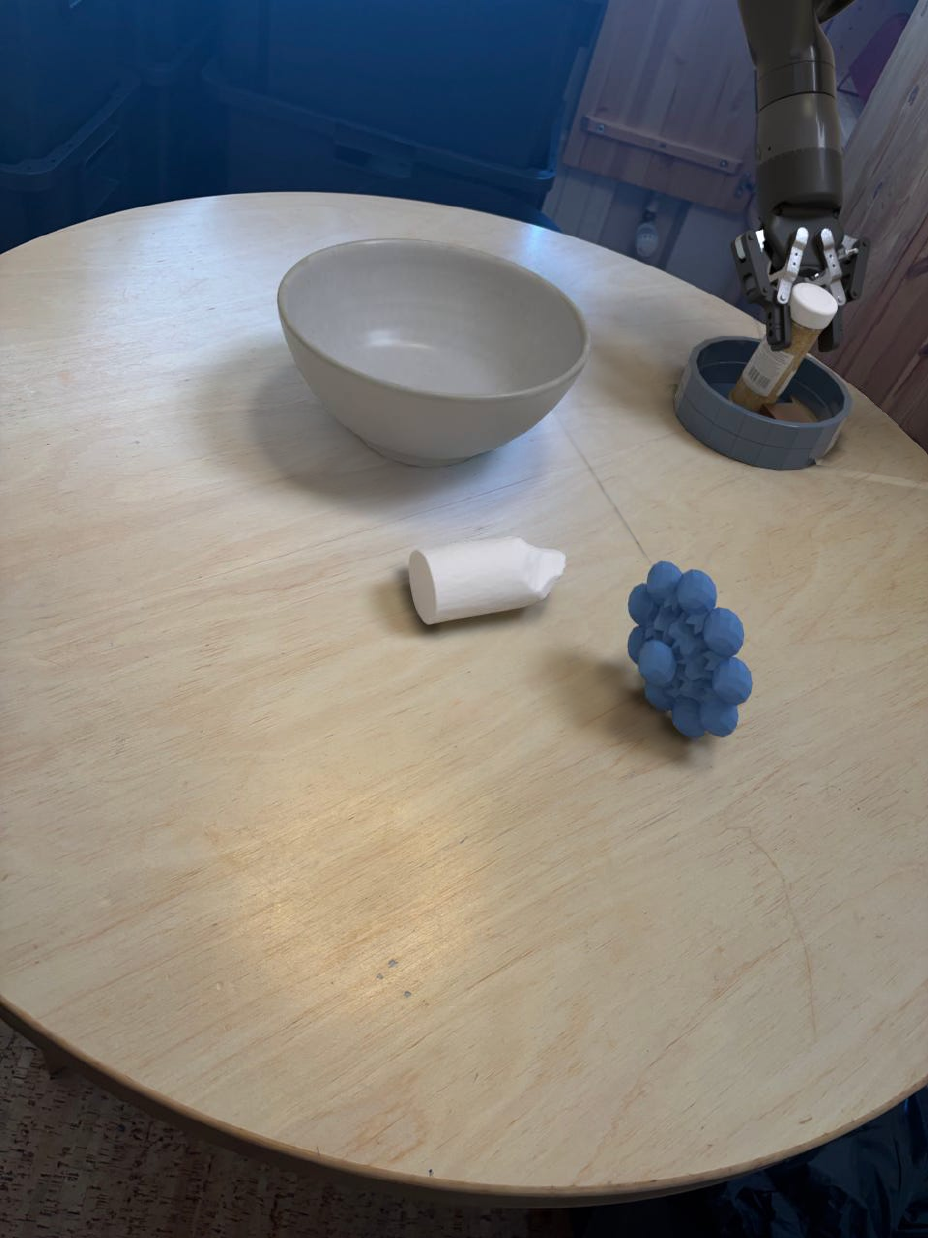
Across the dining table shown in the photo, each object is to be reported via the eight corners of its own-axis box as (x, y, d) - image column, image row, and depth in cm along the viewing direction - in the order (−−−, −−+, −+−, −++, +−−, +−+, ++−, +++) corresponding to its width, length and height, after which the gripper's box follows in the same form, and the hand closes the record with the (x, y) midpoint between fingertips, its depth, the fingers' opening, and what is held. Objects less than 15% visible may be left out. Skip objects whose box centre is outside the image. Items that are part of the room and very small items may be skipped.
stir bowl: (808, 394, 106) (829, 350, 102) (845, 485, 94) (871, 438, 90) (664, 370, 104) (680, 324, 100) (682, 459, 92) (701, 411, 89)
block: (780, 435, 97) (796, 402, 95) (800, 459, 95) (817, 425, 92) (747, 437, 96) (762, 403, 93) (767, 461, 94) (783, 427, 91)
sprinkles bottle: (775, 420, 96) (849, 310, 86) (741, 425, 95) (812, 314, 84) (751, 389, 99) (820, 278, 88) (717, 393, 97) (784, 281, 86)
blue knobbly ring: (565, 669, 70) (608, 548, 62) (633, 642, 73) (683, 523, 65) (667, 788, 64) (730, 671, 56) (737, 752, 67) (806, 636, 59)
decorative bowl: (235, 368, 91) (233, 245, 83) (478, 339, 102) (499, 229, 94) (340, 546, 76) (352, 418, 67) (613, 490, 87) (652, 374, 78)
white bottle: (572, 616, 74) (591, 563, 70) (429, 640, 70) (440, 585, 66) (542, 565, 78) (557, 512, 74) (404, 585, 74) (412, 530, 70)
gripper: (754, 137, 81) (763, 338, 82) (891, 149, 86) (898, 341, 86) (707, 173, 89) (715, 358, 89) (835, 183, 93) (842, 360, 94)
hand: (805, 349), depth 88 cm, fingers closed on sprinkles bottle, 4 cm apart
